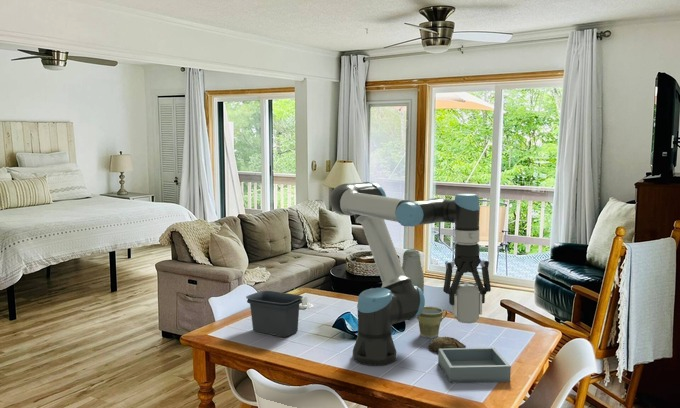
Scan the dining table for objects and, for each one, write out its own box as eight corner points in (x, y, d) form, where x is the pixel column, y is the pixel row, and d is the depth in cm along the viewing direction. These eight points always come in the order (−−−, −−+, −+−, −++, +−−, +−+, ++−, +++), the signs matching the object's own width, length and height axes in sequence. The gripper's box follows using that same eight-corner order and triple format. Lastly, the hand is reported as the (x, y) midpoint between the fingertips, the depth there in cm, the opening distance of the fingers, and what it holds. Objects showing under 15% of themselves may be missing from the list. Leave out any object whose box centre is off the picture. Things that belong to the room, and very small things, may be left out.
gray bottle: (409, 306, 252) (410, 246, 249) (427, 311, 244) (428, 249, 241) (395, 311, 245) (395, 249, 242) (413, 316, 238) (413, 252, 235)
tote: (449, 383, 171) (449, 367, 170) (438, 362, 187) (438, 348, 186) (510, 381, 172) (510, 366, 171) (493, 361, 188) (494, 347, 187)
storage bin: (243, 332, 219) (242, 296, 217) (267, 321, 232) (266, 287, 231) (286, 341, 208) (285, 304, 206) (309, 329, 221) (309, 294, 220)
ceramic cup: (425, 341, 208) (425, 315, 206) (411, 333, 217) (411, 308, 216) (454, 336, 213) (454, 311, 212) (439, 328, 222) (439, 304, 221)
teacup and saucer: (305, 310, 248) (305, 301, 248) (291, 307, 252) (291, 299, 252) (316, 306, 255) (316, 297, 255) (302, 303, 260) (302, 294, 259)
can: (456, 324, 173) (456, 286, 172) (453, 317, 180) (453, 280, 179) (480, 324, 172) (480, 286, 171) (477, 317, 179) (477, 281, 178)
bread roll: (423, 348, 201) (423, 335, 200) (447, 341, 208) (447, 328, 207) (450, 359, 190) (450, 345, 190) (473, 351, 198) (474, 338, 197)
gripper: (439, 246, 169) (439, 319, 171) (502, 243, 171) (502, 315, 173) (432, 242, 176) (432, 312, 178) (493, 240, 179) (492, 309, 181)
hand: (467, 314), depth 176 cm, fingers closed on can, 7 cm apart
